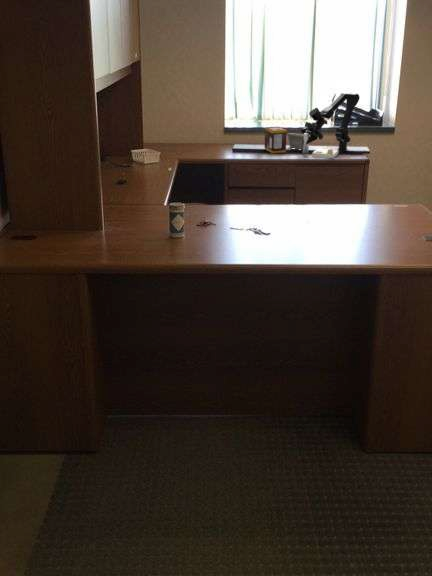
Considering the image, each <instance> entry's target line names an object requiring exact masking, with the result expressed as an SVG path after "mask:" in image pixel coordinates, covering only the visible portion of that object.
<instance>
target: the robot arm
mask: <svg viewBox="0 0 432 576" xmlns="http://www.w3.org/2000/svg"><path fill="white" fill-rule="evenodd" d="M345 101H346V108H345V111H344V114H343V117H342V120H341V124H340V126H339V127H336V129H335V135H334V136H335V139H336V141H338V148H337V149H336V150H338V151H340V150H341V151H343V152H346V150H347V149H348V143H349V142H351V137H350V136H349V125H350V121H351V118H352V115H353V112H354V109H355V107H356V106H357V104H358V103H359V102H360V95H359V94H358V93H355V92H349V93H347V92H346V93H345V92H342V93H340V95H339V96H338V97H337V98H336V99H335V100H334V101H333V102H332V103H331V104H330V105H328V106H326V107H324V108H323V109H322V110H321V111H320V110H319V108H318V107H315V108H314V109H311V110H310V111H309V113H308V114H309V116H310V117H311V119H312V120H313V122H308V121H305V123H304V127H301V129H300V132H301V133H302V135H304V133H309V139H308V140H307V142H306V144H309V145H310V143H312V142H314V141H317V140H323V139H324V135H323V134H322V132H321V131H322V128H323V126H324V125H328V120H330V119H331V118H332V117H333V116H334V115H335V111H337V109H338V108H339V107H340V106H341V105H342V104H343V103H344V102H345ZM314 121H315V122H314ZM303 142H304V138H303V141H302V143H303ZM347 151H348V150H347Z"/></svg>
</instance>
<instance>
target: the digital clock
mask: <svg viewBox="0 0 432 576" xmlns="http://www.w3.org/2000/svg"><path fill="white" fill-rule="evenodd" d="M287 137H288V142H289V149H290V148H295V149H303V143H302V141H303V138H304V134H299V133H292V132H289V133H287ZM295 149H294V150H295Z"/></svg>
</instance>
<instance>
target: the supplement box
mask: <svg viewBox="0 0 432 576" xmlns="http://www.w3.org/2000/svg"><path fill="white" fill-rule="evenodd" d="M287 132H288V131H287V129H286V128H282V127H280V126H266V127H264V148H265V149H267V150H266V151H267V152H269V153H271V154H280V153H281V154H282V153H287V135H288V133H287ZM265 149H264V150H265Z"/></svg>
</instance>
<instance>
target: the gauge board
mask: <svg viewBox="0 0 432 576" xmlns="http://www.w3.org/2000/svg"><path fill="white" fill-rule="evenodd" d="M338 154H339V150H337V149H333V148H317V149H315V150H314V151H313V152H312V155H311V156H312V157H314V158H325V159H334V158H335V157H336V156H338Z"/></svg>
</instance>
